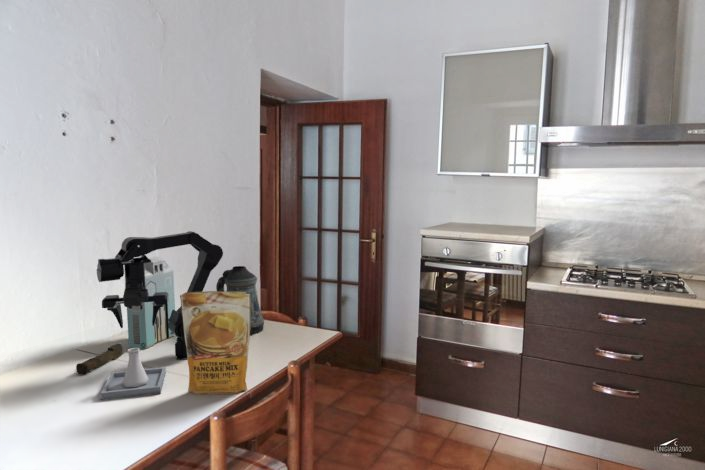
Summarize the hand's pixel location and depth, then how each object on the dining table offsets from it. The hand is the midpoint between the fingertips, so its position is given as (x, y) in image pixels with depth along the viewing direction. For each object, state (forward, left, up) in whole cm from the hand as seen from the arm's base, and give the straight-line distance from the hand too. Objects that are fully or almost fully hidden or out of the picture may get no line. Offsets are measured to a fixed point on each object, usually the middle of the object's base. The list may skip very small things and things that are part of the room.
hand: (137, 326), depth 158 cm
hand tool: (+12, -6, -14) cm, 19 cm away
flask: (-1, +16, -12) cm, 20 cm away
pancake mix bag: (-24, +25, -13) cm, 37 cm away
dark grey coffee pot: (-32, -31, -13) cm, 46 cm away
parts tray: (-1, +16, -13) cm, 21 cm away
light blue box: (-1, -26, -13) cm, 29 cm away
